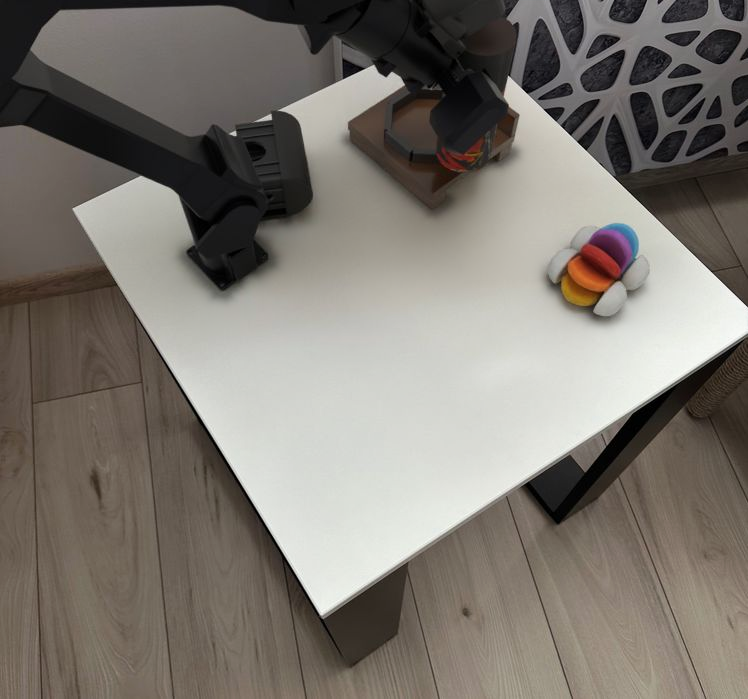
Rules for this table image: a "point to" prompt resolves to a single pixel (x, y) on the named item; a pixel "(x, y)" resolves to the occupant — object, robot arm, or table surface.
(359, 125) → the shelf
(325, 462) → the table surface
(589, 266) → the rainbow disc toy
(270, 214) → the end cap
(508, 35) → the deodorant
